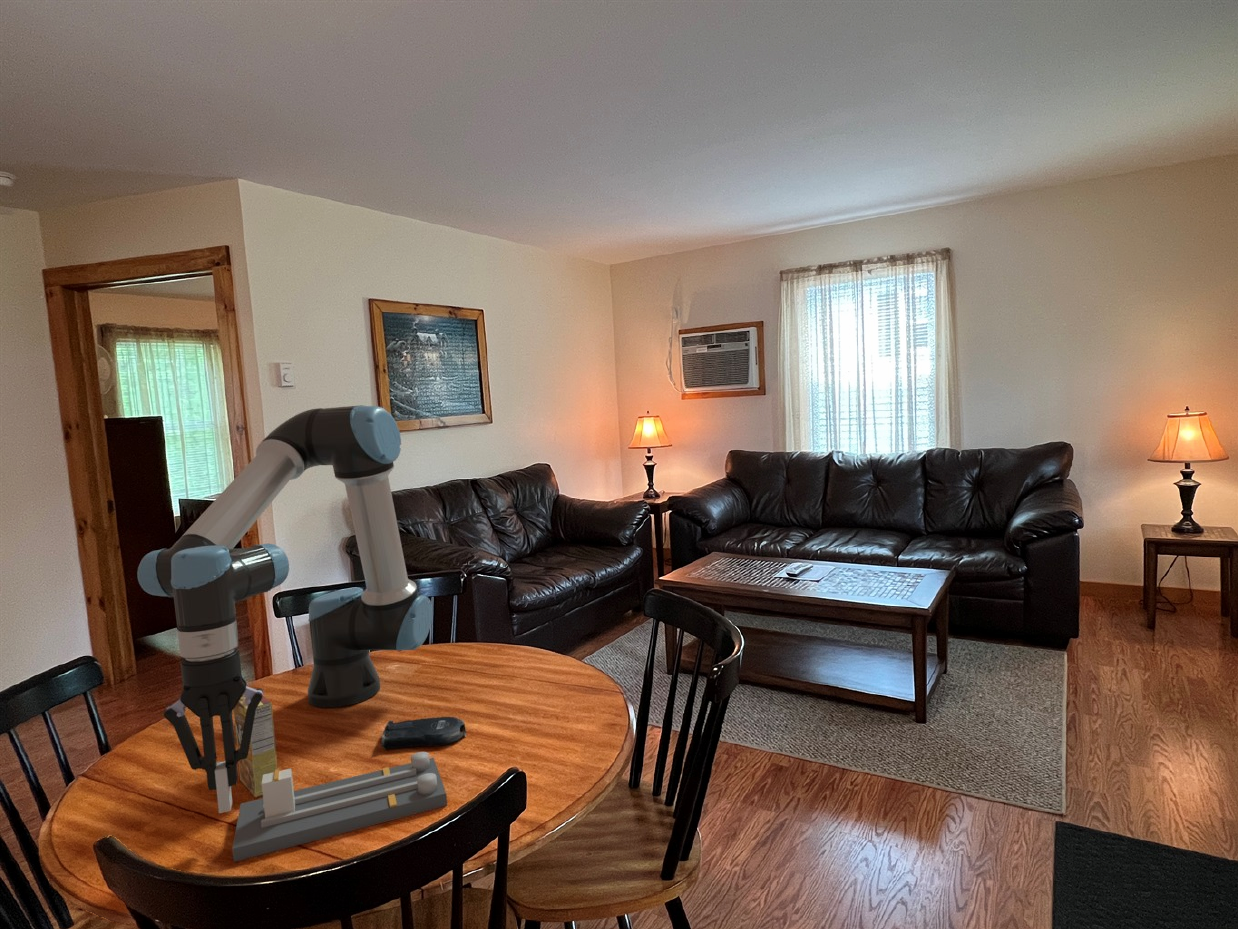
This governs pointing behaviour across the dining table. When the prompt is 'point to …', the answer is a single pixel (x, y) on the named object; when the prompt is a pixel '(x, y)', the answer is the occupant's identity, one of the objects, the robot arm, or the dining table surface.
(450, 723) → the electronic device
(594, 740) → the dining table surface
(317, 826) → the console board
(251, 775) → the candy box
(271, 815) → the fader tab
